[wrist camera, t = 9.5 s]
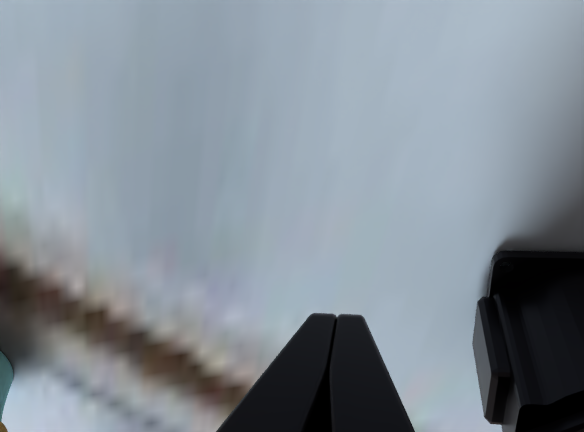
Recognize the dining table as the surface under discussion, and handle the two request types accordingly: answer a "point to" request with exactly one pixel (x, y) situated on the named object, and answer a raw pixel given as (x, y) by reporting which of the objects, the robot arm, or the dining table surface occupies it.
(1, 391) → the cupcake
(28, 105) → the dining table surface
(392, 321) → the dining table surface
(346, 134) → the dining table surface
